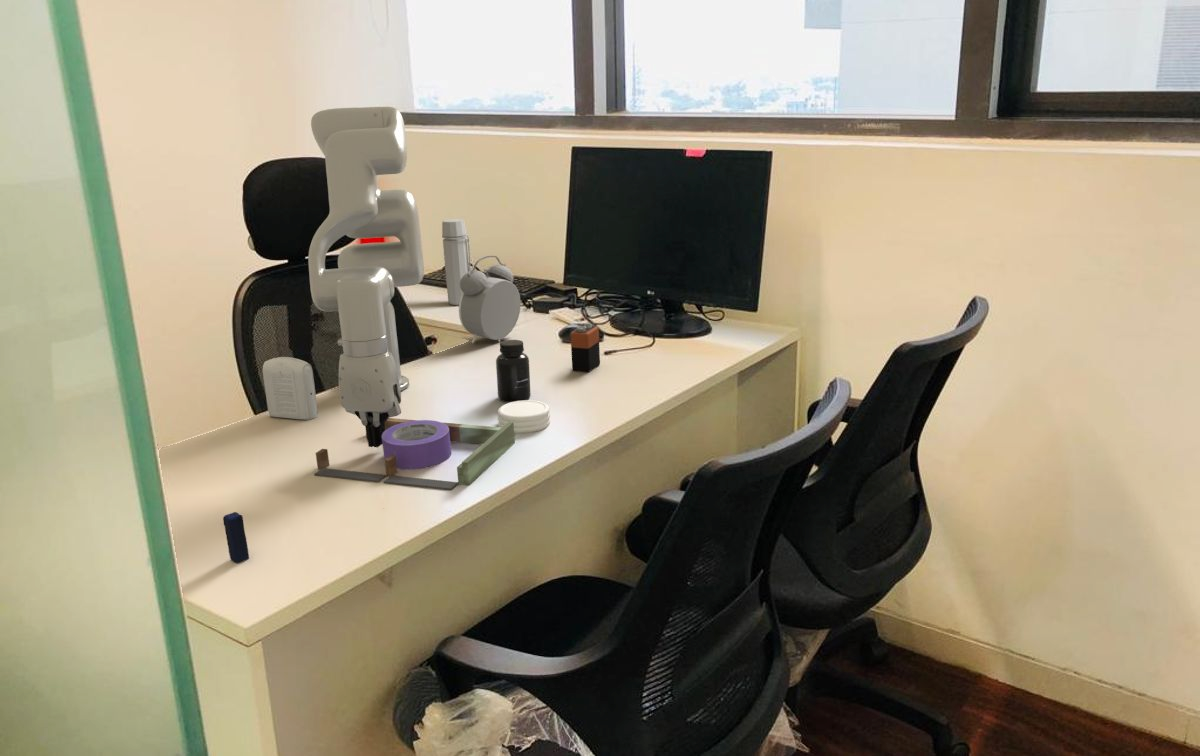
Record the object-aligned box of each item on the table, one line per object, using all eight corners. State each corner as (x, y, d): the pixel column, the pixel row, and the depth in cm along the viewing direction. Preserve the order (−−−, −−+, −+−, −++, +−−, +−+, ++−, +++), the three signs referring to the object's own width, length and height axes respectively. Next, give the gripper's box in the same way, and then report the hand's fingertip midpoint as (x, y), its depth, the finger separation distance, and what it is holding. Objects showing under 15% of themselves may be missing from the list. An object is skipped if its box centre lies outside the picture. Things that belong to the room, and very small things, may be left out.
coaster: (492, 421, 180) (490, 404, 179) (540, 412, 183) (539, 396, 182) (508, 438, 171) (506, 420, 170) (558, 428, 175) (557, 411, 174)
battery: (571, 371, 208) (569, 328, 205) (583, 362, 214) (581, 321, 211) (589, 373, 207) (587, 330, 204) (600, 364, 213) (599, 322, 210)
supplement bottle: (526, 403, 188) (522, 347, 185) (494, 402, 190) (489, 346, 186) (534, 392, 195) (531, 338, 191) (503, 391, 196) (500, 337, 192)
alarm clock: (501, 331, 245) (495, 249, 238) (526, 335, 240) (521, 251, 233) (458, 346, 232) (450, 260, 225) (483, 350, 227) (476, 262, 220)
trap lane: (317, 469, 160) (314, 447, 158) (375, 430, 177) (373, 410, 176) (469, 485, 151) (467, 462, 150) (514, 442, 168) (513, 422, 167)
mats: (314, 475, 157) (314, 473, 157) (322, 469, 159) (322, 467, 159) (451, 490, 149) (451, 488, 149) (458, 483, 151) (458, 482, 151)
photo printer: (321, 414, 187) (313, 356, 183) (309, 421, 183) (301, 362, 179) (278, 410, 190) (270, 353, 186) (265, 418, 186) (256, 359, 182)
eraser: (236, 564, 128) (228, 520, 126) (228, 559, 130) (221, 515, 128) (250, 558, 130) (243, 514, 128) (243, 553, 131) (236, 510, 129)
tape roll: (419, 476, 156) (416, 448, 154) (370, 463, 162) (367, 437, 160) (465, 452, 165) (462, 426, 164) (416, 441, 171) (414, 416, 170)
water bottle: (444, 306, 275) (436, 222, 267) (452, 300, 282) (445, 218, 275) (474, 306, 273) (467, 222, 266) (481, 300, 281) (475, 218, 273)
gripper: (316, 350, 159) (329, 448, 165) (392, 354, 154) (403, 456, 160) (340, 338, 166) (352, 434, 171) (414, 342, 161) (424, 440, 167)
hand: (377, 444), depth 166 cm, fingers closed
